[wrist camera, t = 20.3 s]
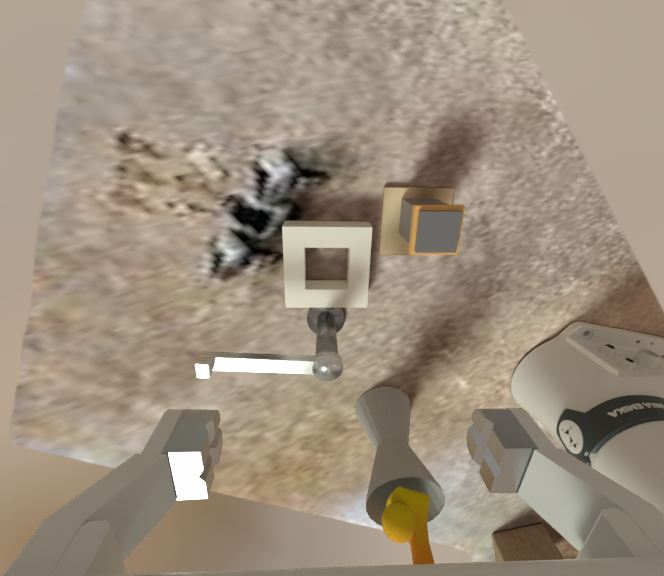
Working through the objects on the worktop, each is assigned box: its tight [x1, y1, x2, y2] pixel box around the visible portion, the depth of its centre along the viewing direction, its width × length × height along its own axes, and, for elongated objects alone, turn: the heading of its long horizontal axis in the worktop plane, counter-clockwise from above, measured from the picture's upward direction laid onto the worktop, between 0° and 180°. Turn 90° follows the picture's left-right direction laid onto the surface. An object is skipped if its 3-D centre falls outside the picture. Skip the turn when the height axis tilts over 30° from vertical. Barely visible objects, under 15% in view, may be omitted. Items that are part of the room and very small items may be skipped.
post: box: [307, 308, 345, 354], centre depth 40 cm, size 5×5×10 cm
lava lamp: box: [355, 386, 445, 565], centre depth 36 cm, size 9×9×35 cm
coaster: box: [379, 187, 454, 255], centre depth 40 cm, size 8×8×1 cm
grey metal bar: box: [196, 350, 343, 381], centre depth 34 cm, size 15×3×2 cm, turn 86°
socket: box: [282, 221, 372, 308], centre depth 40 cm, size 10×10×3 cm
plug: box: [399, 198, 465, 255], centre depth 36 cm, size 5×5×8 cm
